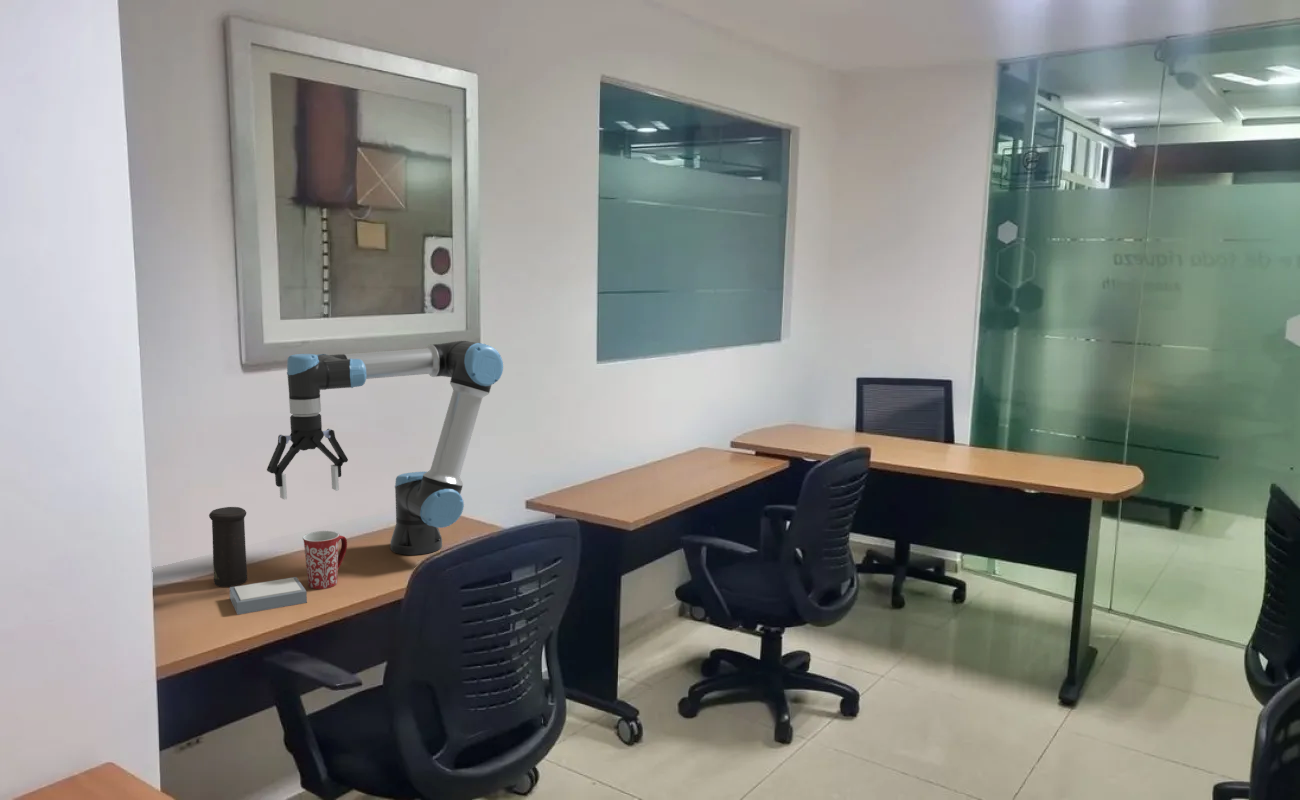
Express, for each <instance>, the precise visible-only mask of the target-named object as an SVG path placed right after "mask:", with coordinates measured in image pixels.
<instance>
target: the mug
mask: <svg viewBox="0 0 1300 800" xmlns="http://www.w3.org/2000/svg"><path fill="white" fill-rule="evenodd" d="M302 540H303V547H304V554H305V566H306V567H305V568H306V575H307V576H306V577H307V586H308V587H309V588H310V589H314V590H324V589H329V588H333V587H334V586H337V584H338V570H339V569H340V567H341V565H342V563H343V561H344V558H345V556H346V553H347V549H348V541H347V538H346V537H345V536H344V535H340V534H339V532H336V531H332V530H318V531H314V532H313V531H312V532H309V533H307V534H305V535H303V536H302ZM339 541H341V547H340V552H339Z"/></svg>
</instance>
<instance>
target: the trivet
mask: <svg viewBox="0 0 1300 800" xmlns="http://www.w3.org/2000/svg"><path fill="white" fill-rule="evenodd" d="M307 594H308V593H307V590H306V588H305V587H304V586H303V584H302V583H301V582H300V579H299V578H298V577H297V576H293V577H287V578H281V579H274V580H268V581H262V582H255V583H249V584H241V585H236V586H230V587H229V600H230V601H231V604H232V606H233V608H234V611H235V612H236V615H237V616H239V615H243V614H250V613H255V612H256V613H257V612H260V611H261V612H262V611H266V610H272V609H279V608H285V607H290V606H295V605H301V604H306V603H308V597H307Z"/></svg>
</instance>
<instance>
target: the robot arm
mask: <svg viewBox="0 0 1300 800" xmlns="http://www.w3.org/2000/svg"><path fill="white" fill-rule="evenodd" d="M503 372H504V361H503V359H502V356H501V354H500V353H499V351H498V350H497V349H496V348H495V347H493V346H492V345H489V344H486V343H481V342H474V341H468V340H457V341H456V340H455V341H451V342H450V341H449V342H443V343H436V344H435V343H434V344H429V345H427V346H426V348H412V349H398V350H385V351H367V352H355V353H343V354H325V353H322V354H315V353H295V354H291V355H289V356H288V357H287V363H286V375H287V385H288V387H287V388H288V403H289V405H288V406H289V413H290V415H291V416H290V417H289V422H290V434H289V435H283V434H279V435H278V438H277V444H276V447H275V449H274V452H273V454H272V455H271V458H270V461H269V463H268V466H267V468H266V472H269V473H270V474H274V479H275V485H276V487H278V488H279V495H280V496H279V497H280V498H281V499H282V500H287V499H288V494H287V477H286V474H285V473H284V471H285V470H286V468H287V467H288V466H289V465H290V463H291V461H292V460H293V459H294V458H295V456H296V455H297V454H298V453H299V452H301V451H307V450H315V449H316V448H317V449H318V450H320V452H322V453H323V455H324V456H326V458H327V459H329V460H330V461H331V462H332V463H333V464H330V472H331V473H330V474H331V489H332V490H333V491H335V492H336V491H339V490H340V485H339V484H340V483H339V478H341V477H342V466H343V464H344V463H347V462H348V461H349V459H348V457H347V455H346V454H345V452H344V450H343V448H342V446H341V445H340V443H339V442H338V440H337V438H336V434H335V430H333V429H331V428H327V429H326V430H323V425H322V424H323V423H322V414H321V413H322V412H321V411H322V408H321V407H322V404H321V394H320V393H321V390H322V391H323V390H324V391H325V390H335V389H350V388H351V389H353V388H358V387H363V386H364V385H365V383H366V381H367V380H371V379H384V378H393V377H405V376H409V377H410V376H419V375H429V376H430V377H433V378H435V377H436V378H437V377H444V378H445V377H447V378H450V381H449V382H450V383H449V384H450V386H451V387H452V395H451V397H450V400H449V404H448V408H447V410H446V411H447V412H446V413H445V414H446V415H445V416H444V417H445V419H444V422H443V424H442V425H443V426H442V428H441V431H440V436H439V438H438V443H437V445H436V449H435V453H434V457H433V459H432V462H431V466H430V469H429V470H428V471H415V472H406V473H401V474H399V475H397V476H396V478H395V485H394V489H395V490H394V491H395V494H394V495H395V525H394V526H395V527H394V529H393V532H392V535H391V538H390V551H392V552H393V553H395V554H400V555H404V556H405V555H406V556H407V555H408V556H409V555H410V556H415V555H427V554H430V553H431V554H432V553H434V552H437V551H439V550H441V548H442V547H443V538H442V535H441V532H440V529H441V528H442V529H443V528H447V527H450V526H451V525H453V524H454V523H456V522H457V521H458V520H459V519H460V518H461V515H462V514H463V510H464V507H465V506H464V505H465V504H464V499H463V497H462V494H461V493H462V490H463V485H464V484H463V481H462V480H461V474H462V470H463V466H464V464H465V459H466V456H467V452H468V450H469V446H470V442H471V438H472V437H473V436H472V435H473V432H474V428H475V425H476V421H477V417H478V415H479V411H480V407H481V404H482V400H483V398H484V397H486V396H488V395H490V392H491V389H492V385H494V384H496V382H498V381H499V380H500V379H501V376H502V374H503ZM324 437H325V439H326V438H327V440H328V442H329V443H330V445H331V447H332V449H333V450H334V452H335V453H336V455H335V454H334V453H333V452H332V451H331V450H330V449H328V447H326V445H325V444H324V443H323V442H322V441H323V439H324ZM289 441H291V443H292V444H291V445H290V446H289V448H288V451H287V452H286V453H285V455H284V456H283V453H284V451H285V449H286V446H287V445H288V444H289ZM282 456H283V457H282ZM336 456H337V457H338V458H337V457H336Z"/></svg>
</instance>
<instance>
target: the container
mask: <svg viewBox="0 0 1300 800" xmlns="http://www.w3.org/2000/svg"><path fill="white" fill-rule="evenodd" d="M246 515H247V511H246V510H245V509H244V508H242V507H240V506H239V507H238V506H226V507H225V506H224V507H220V508H215V509H213V510H212V511H211V512H210V513H209V515H208V516H209V519H210V520H211V532H212V564H213V565H212V566H213V569H212V570H213V584H214V585H215V586H217V587H222V588H224V587H226V588H228V587H235V586H241V585H244V584H245V583H247V581H248V566H247V549H246V527H245V517H246Z"/></svg>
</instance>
